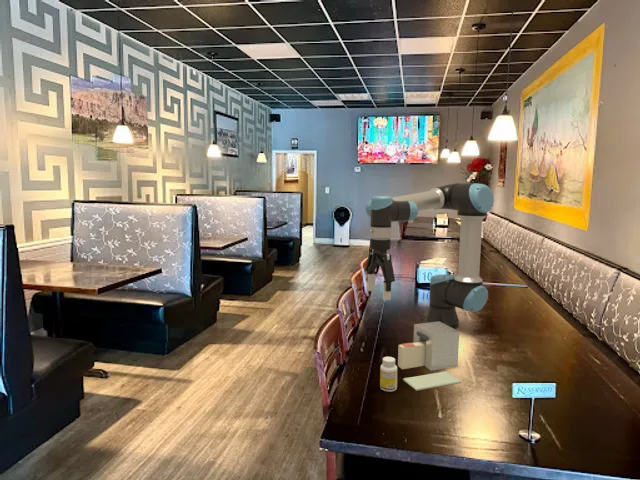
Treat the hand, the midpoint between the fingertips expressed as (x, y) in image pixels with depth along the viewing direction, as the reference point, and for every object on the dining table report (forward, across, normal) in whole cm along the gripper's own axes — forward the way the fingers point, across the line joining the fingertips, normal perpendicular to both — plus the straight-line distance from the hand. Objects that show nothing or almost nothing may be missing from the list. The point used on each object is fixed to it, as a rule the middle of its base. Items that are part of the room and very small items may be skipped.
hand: (378, 295), depth 164 cm
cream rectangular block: (+24, +12, +10) cm, 28 cm away
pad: (+24, +25, +8) cm, 35 cm away
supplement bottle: (+24, +25, -8) cm, 35 cm away
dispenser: (+23, +11, +18) cm, 32 cm away
